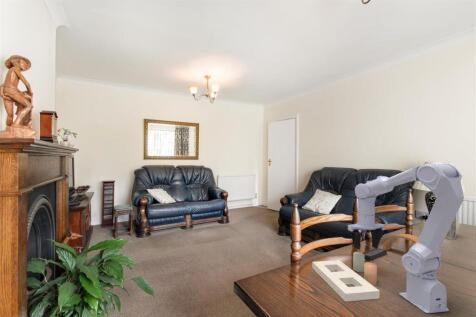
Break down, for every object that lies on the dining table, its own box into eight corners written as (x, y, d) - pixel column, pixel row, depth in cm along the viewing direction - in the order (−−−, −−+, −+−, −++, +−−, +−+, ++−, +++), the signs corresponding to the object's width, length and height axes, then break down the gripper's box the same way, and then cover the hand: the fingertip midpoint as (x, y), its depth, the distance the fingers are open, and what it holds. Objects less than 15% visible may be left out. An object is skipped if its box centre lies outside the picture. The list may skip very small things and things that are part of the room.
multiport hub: (359, 258, 103) (359, 253, 103) (377, 251, 111) (377, 247, 111) (369, 262, 100) (369, 257, 100) (387, 255, 107) (387, 250, 107)
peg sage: (366, 272, 90) (366, 255, 90) (357, 272, 90) (357, 256, 90) (359, 267, 94) (359, 251, 94) (350, 267, 94) (351, 252, 93)
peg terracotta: (379, 285, 81) (379, 266, 81) (369, 286, 80) (369, 267, 80) (371, 279, 85) (371, 261, 85) (361, 279, 84) (361, 262, 84)
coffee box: (431, 235, 135) (431, 208, 135) (437, 233, 137) (437, 207, 137) (450, 240, 126) (451, 211, 126) (456, 238, 129) (456, 210, 129)
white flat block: (379, 298, 73) (379, 290, 73) (345, 301, 71) (345, 293, 71) (339, 266, 95) (339, 260, 95) (312, 267, 93) (312, 261, 93)
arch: (431, 268, 94) (431, 244, 94) (382, 250, 112) (382, 230, 112) (438, 265, 96) (438, 242, 96) (389, 248, 114) (389, 228, 114)
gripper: (375, 211, 95) (375, 243, 95) (343, 212, 93) (343, 245, 93) (388, 215, 88) (388, 250, 88) (354, 216, 86) (354, 252, 86)
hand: (366, 248), depth 90 cm, fingers open, 7 cm apart
